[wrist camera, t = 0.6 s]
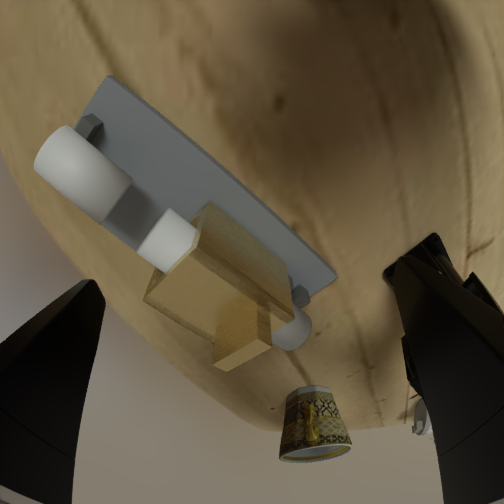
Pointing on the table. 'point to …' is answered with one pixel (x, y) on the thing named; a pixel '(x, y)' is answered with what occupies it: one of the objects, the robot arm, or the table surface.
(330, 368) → the table surface
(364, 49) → the table surface
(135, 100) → the pipe run
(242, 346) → the coupling
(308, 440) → the ceramic cup
